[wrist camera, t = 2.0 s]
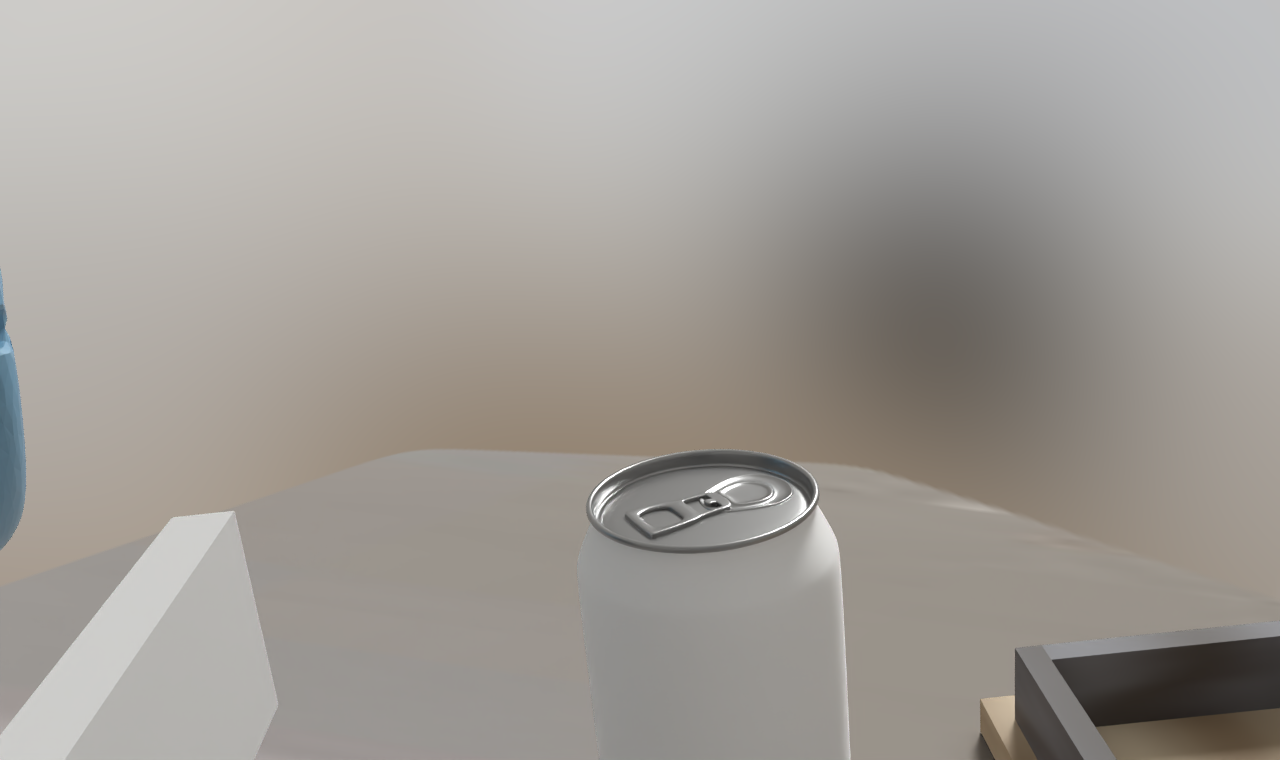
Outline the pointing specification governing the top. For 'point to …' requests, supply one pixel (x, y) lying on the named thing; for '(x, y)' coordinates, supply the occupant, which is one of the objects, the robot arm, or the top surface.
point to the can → (713, 612)
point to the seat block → (1143, 698)
